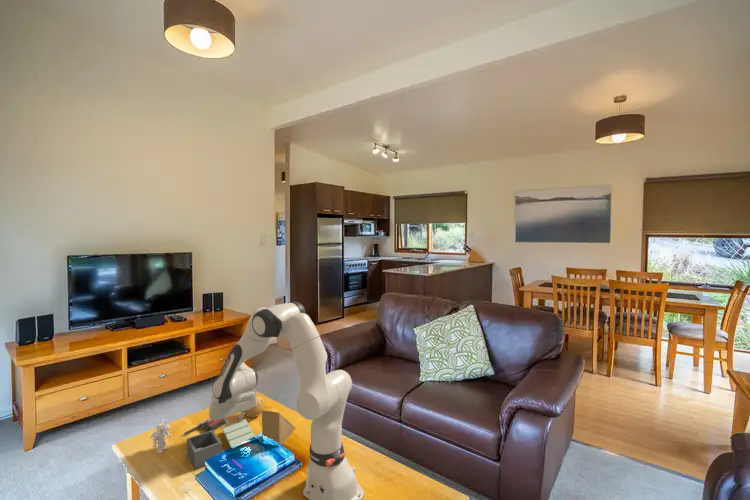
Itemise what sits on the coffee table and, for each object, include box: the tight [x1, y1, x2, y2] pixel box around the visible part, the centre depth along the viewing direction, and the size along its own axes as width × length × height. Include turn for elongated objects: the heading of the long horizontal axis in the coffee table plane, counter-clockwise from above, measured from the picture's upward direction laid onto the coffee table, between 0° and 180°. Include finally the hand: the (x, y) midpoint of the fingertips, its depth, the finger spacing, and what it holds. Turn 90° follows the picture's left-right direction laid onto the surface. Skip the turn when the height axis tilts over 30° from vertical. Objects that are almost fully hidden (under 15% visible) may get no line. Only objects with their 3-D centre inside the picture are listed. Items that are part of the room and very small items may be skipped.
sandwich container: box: [261, 409, 296, 445], centre depth 157 cm, size 9×15×15 cm, turn 165°
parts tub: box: [186, 430, 223, 471], centre depth 141 cm, size 12×10×7 cm
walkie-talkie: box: [184, 418, 226, 435], centre depth 163 cm, size 9×4×20 cm
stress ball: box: [244, 395, 266, 418], centre depth 173 cm, size 10×10×10 cm
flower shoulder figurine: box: [150, 418, 172, 454], centre depth 146 cm, size 9×4×12 cm, turn 169°
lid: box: [221, 413, 256, 448], centre depth 155 cm, size 16×10×3 cm, turn 42°
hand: (234, 422), depth 157 cm, fingers closed on lid, 4 cm apart
